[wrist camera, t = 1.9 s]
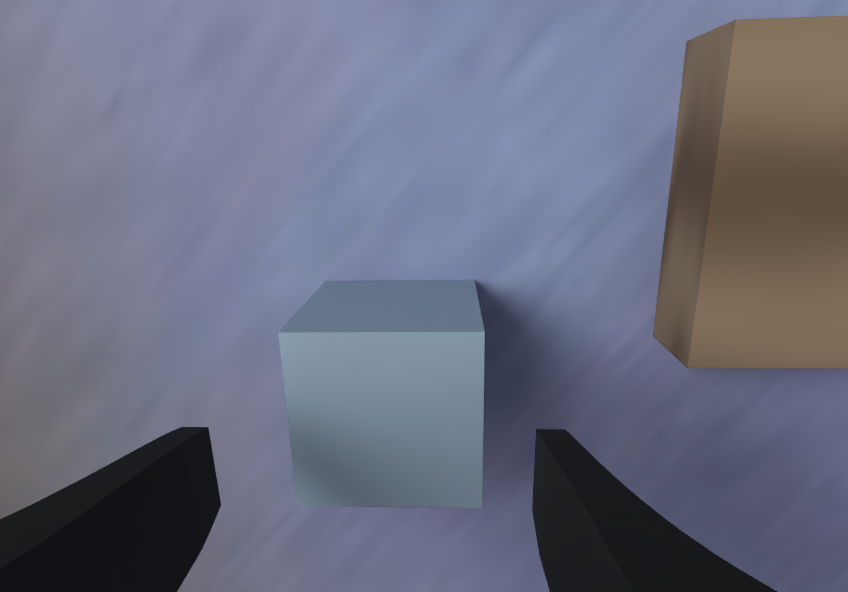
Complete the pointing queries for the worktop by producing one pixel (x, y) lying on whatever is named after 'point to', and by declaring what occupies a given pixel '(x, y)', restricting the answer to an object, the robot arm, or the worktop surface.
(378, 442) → the slate cube
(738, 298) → the walnut slab
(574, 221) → the worktop surface
